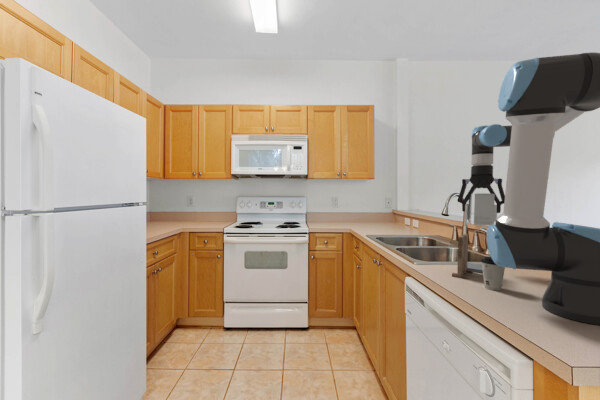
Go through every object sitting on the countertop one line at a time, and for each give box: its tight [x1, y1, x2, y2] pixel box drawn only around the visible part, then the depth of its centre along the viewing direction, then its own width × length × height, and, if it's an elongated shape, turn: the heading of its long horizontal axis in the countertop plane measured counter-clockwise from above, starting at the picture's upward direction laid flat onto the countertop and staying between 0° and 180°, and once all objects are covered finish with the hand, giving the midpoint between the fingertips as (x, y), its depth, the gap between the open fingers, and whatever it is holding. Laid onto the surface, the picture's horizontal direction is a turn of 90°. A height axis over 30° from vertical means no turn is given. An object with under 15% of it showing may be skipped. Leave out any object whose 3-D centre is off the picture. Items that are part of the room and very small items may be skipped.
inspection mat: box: [467, 262, 483, 274], centre depth 119 cm, size 10×10×1 cm
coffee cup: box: [480, 256, 506, 292], centre depth 96 cm, size 7×7×10 cm
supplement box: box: [467, 192, 496, 226], centre depth 118 cm, size 7×7×13 cm
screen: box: [451, 233, 474, 280], centre depth 112 cm, size 12×5×15 cm, turn 141°
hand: (480, 220), depth 118 cm, fingers closed on supplement box, 9 cm apart
